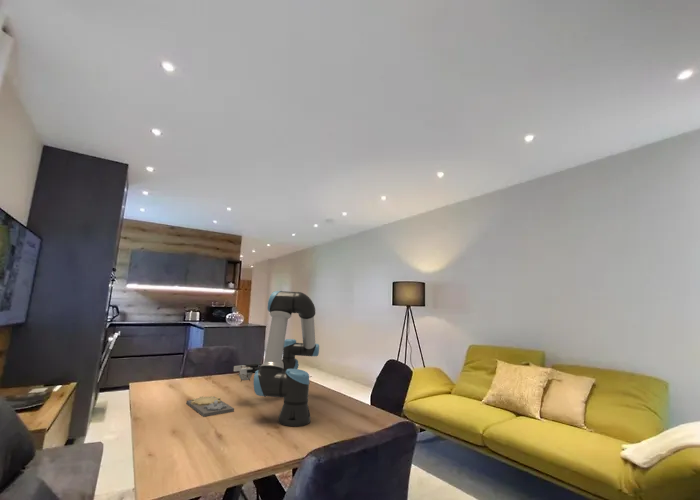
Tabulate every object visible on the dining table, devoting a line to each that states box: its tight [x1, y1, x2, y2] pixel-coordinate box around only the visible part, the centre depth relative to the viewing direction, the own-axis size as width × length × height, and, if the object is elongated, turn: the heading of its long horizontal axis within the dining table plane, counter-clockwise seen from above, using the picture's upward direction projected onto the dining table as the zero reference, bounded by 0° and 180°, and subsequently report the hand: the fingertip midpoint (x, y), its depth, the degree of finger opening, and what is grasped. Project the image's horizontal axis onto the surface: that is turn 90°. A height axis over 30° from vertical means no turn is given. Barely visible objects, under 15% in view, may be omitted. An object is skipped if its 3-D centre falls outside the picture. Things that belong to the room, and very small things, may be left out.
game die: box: [236, 365, 254, 382], centre depth 184 cm, size 9×8×10 cm
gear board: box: [186, 395, 235, 418], centre depth 173 cm, size 26×15×5 cm, turn 43°
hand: (237, 370), depth 182 cm, fingers closed on game die, 8 cm apart
